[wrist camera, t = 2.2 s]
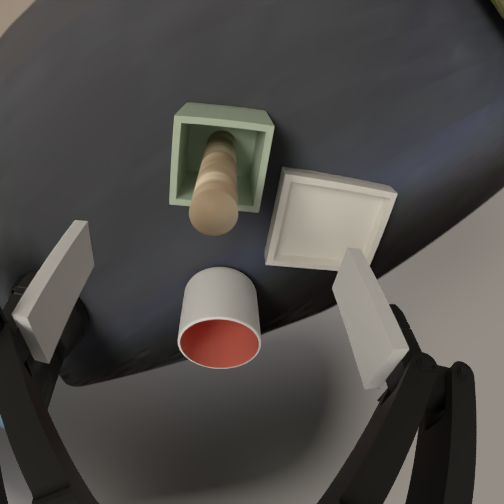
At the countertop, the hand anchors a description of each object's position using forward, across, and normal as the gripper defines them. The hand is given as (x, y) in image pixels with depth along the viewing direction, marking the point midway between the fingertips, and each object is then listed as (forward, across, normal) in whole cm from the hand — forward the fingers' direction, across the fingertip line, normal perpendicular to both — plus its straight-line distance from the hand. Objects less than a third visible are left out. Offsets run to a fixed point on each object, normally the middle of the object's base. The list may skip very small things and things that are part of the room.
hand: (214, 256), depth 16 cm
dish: (+21, +14, -8) cm, 27 cm away
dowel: (+20, 0, 0) cm, 21 cm away
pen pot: (+21, 0, 0) cm, 21 cm away
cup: (+21, +2, -21) cm, 30 cm away
